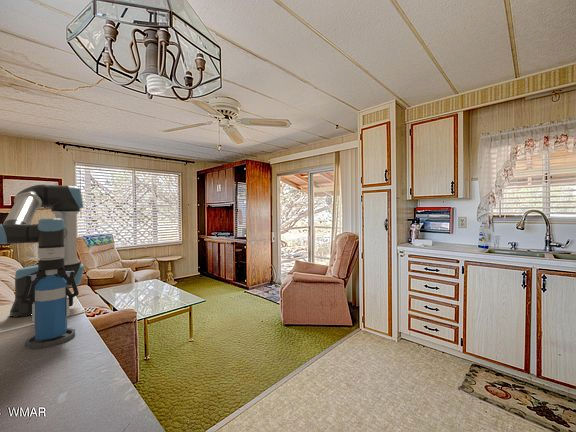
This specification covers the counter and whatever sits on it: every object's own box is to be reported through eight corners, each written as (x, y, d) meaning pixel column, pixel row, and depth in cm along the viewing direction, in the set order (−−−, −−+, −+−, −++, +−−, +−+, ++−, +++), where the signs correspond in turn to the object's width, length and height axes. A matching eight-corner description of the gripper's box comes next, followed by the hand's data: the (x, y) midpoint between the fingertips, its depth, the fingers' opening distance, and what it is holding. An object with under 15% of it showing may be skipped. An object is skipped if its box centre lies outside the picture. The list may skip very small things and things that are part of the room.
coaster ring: (29, 338, 102) (29, 334, 102) (76, 329, 111) (76, 325, 111) (21, 352, 91) (21, 348, 91) (73, 341, 99) (73, 337, 99)
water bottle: (37, 342, 94) (37, 272, 95) (32, 336, 100) (32, 269, 100) (70, 333, 102) (70, 268, 102) (63, 327, 107) (63, 266, 108)
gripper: (8, 262, 92) (8, 328, 92) (86, 256, 105) (86, 314, 104) (13, 260, 98) (13, 321, 98) (87, 255, 111) (87, 309, 110)
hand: (51, 317), depth 101 cm, fingers closed on water bottle, 9 cm apart
